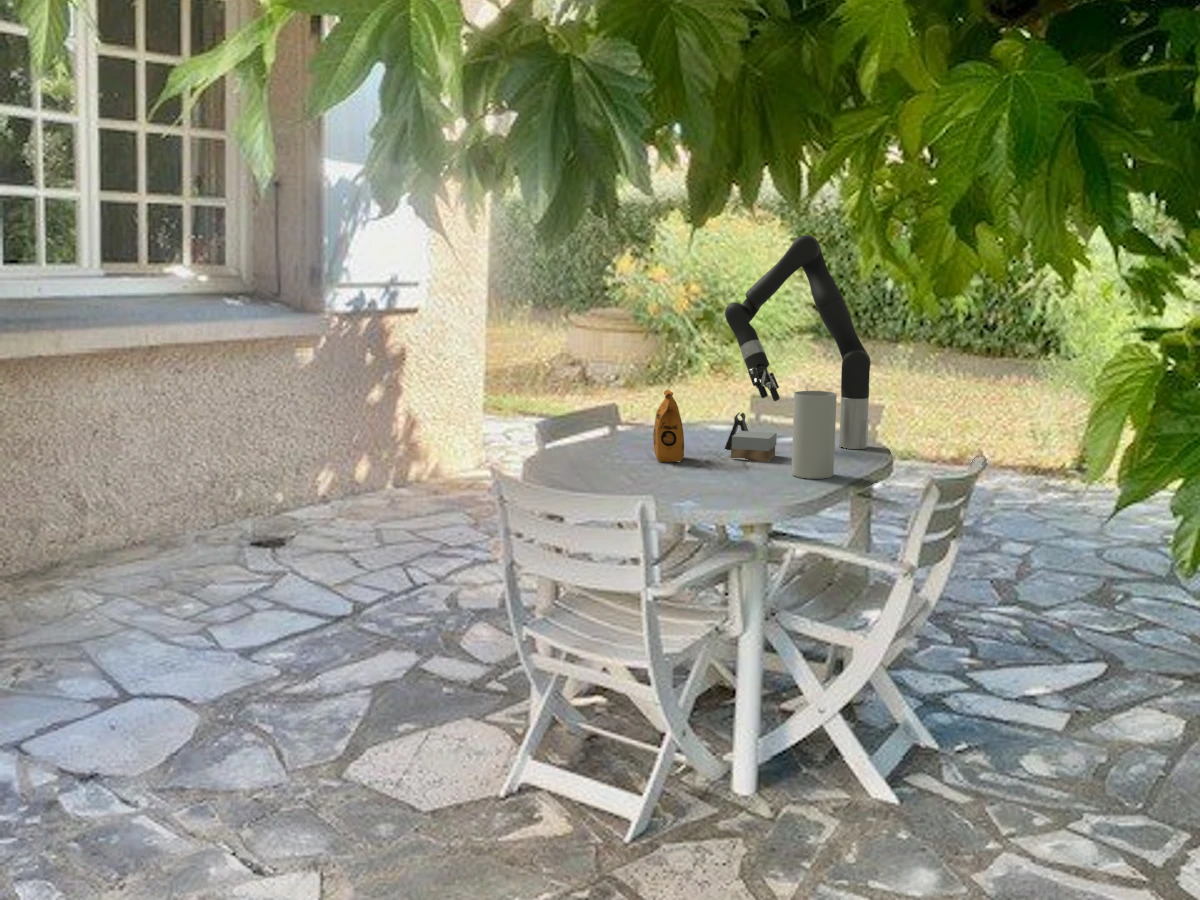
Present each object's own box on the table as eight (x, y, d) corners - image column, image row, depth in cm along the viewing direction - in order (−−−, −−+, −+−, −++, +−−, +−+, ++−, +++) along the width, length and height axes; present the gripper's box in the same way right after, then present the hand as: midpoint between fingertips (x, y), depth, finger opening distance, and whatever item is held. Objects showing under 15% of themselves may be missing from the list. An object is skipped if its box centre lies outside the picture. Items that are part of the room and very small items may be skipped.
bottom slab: (774, 456, 412) (775, 444, 411) (767, 463, 400) (768, 450, 400) (738, 454, 415) (739, 442, 415) (730, 460, 404) (731, 448, 403)
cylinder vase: (829, 481, 370) (832, 397, 366) (787, 477, 375) (790, 394, 370) (836, 473, 382) (840, 391, 377) (796, 470, 386) (798, 389, 382)
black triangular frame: (724, 449, 423) (725, 414, 420) (727, 446, 428) (728, 411, 426) (751, 450, 420) (752, 415, 418) (753, 447, 426) (754, 412, 424)
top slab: (776, 445, 411) (776, 432, 410) (768, 451, 399) (768, 438, 399) (740, 442, 414) (740, 430, 414) (731, 448, 403) (732, 436, 403)
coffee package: (652, 462, 398) (653, 393, 394) (653, 455, 410) (654, 388, 406) (684, 463, 397) (685, 394, 393) (683, 456, 409) (685, 389, 405)
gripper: (753, 348, 418) (770, 391, 413) (773, 354, 429) (790, 396, 424) (735, 358, 422) (751, 401, 417) (755, 364, 433) (772, 406, 428)
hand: (771, 398), depth 420 cm, fingers open, 8 cm apart
